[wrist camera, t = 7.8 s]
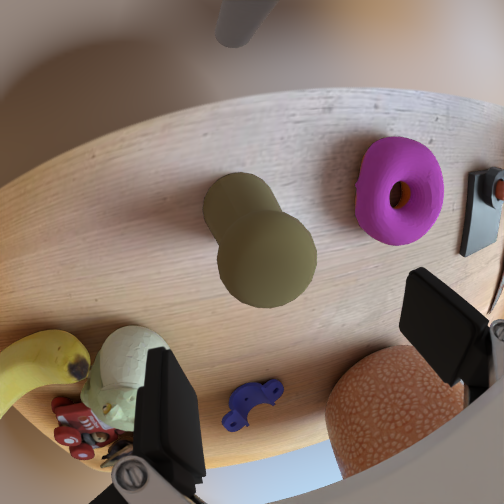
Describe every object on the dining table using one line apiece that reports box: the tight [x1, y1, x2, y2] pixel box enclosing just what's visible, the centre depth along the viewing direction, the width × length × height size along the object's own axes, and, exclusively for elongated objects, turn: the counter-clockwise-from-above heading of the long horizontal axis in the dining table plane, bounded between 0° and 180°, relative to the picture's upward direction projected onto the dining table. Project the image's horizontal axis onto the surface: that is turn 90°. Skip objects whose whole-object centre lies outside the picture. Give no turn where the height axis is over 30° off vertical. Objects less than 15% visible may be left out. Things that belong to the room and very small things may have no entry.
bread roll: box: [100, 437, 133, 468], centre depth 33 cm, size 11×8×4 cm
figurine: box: [80, 325, 170, 431], centre depth 23 cm, size 10×16×10 cm, turn 149°
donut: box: [355, 137, 444, 246], centre depth 22 cm, size 10×10×5 cm
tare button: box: [495, 180, 504, 201], centre depth 24 cm, size 3×3×2 cm
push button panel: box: [460, 167, 504, 257], centre depth 27 cm, size 13×10×3 cm
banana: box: [0, 330, 90, 419], centre depth 17 cm, size 26×6×13 cm
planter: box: [325, 345, 464, 479], centre depth 30 cm, size 21×21×19 cm
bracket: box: [222, 379, 284, 432], centre depth 32 cm, size 9×5×3 cm, turn 110°
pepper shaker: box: [203, 172, 317, 308], centre depth 18 cm, size 6×6×11 cm
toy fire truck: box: [51, 397, 125, 460], centre depth 29 cm, size 7×12×10 cm
